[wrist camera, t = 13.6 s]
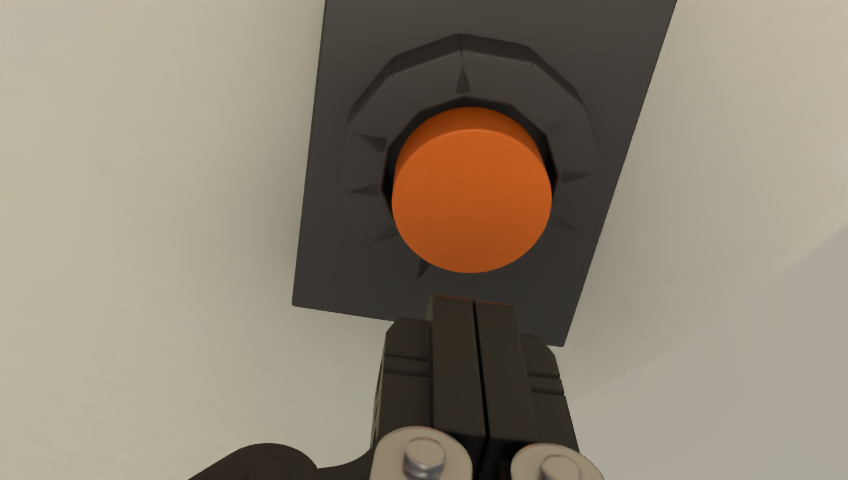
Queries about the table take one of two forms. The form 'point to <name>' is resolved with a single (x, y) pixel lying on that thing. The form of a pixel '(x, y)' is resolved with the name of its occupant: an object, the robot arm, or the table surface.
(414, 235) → the power button
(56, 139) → the table surface
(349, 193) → the dark piece
